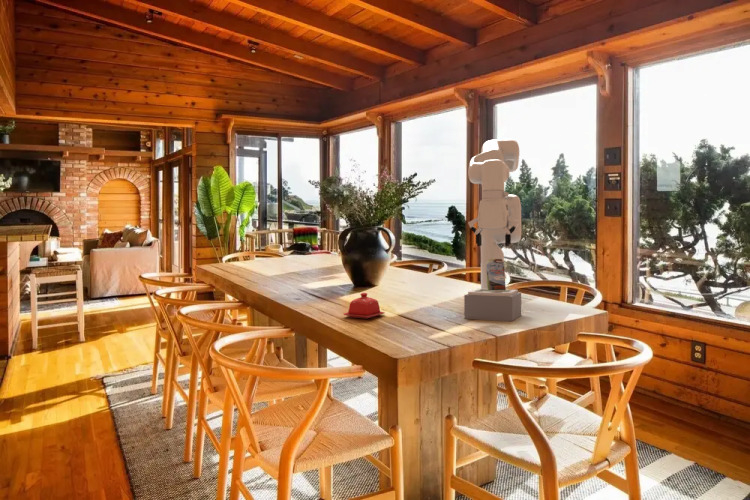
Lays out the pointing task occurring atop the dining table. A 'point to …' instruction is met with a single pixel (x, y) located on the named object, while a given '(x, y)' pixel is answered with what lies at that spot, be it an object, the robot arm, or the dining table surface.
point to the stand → (492, 305)
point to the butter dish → (364, 307)
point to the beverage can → (495, 275)
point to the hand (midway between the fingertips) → (493, 246)
